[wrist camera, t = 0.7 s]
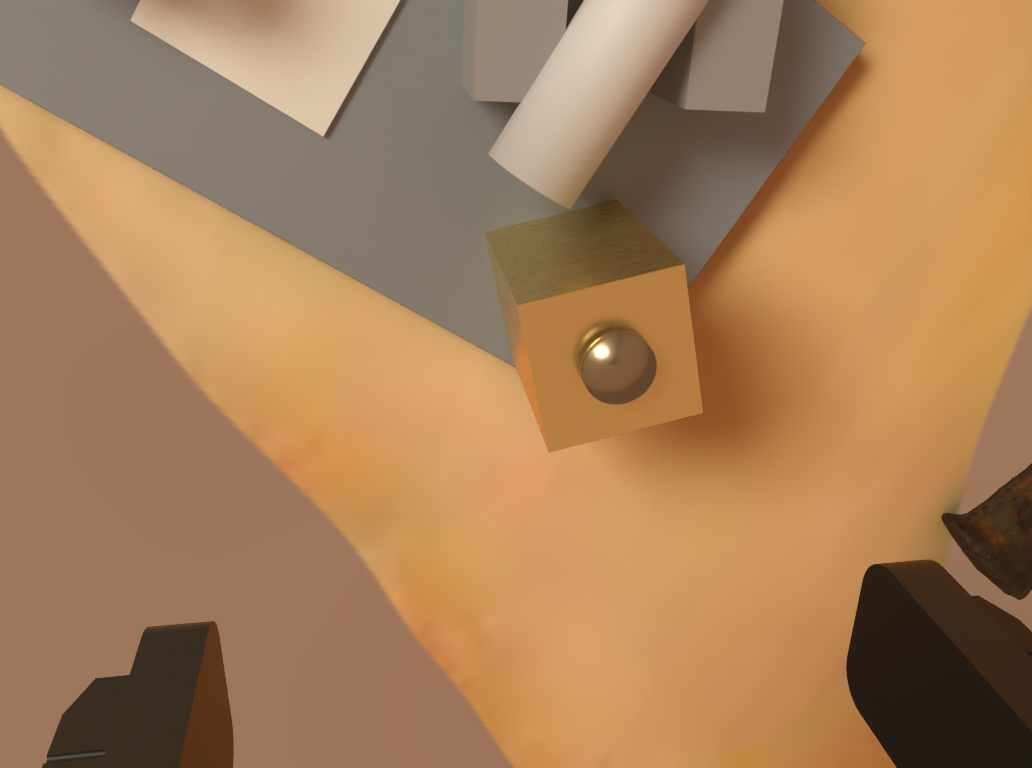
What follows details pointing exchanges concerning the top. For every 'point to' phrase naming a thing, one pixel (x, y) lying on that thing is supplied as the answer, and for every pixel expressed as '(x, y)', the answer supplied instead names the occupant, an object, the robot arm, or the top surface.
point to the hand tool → (1000, 535)
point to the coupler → (596, 323)
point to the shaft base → (439, 118)
